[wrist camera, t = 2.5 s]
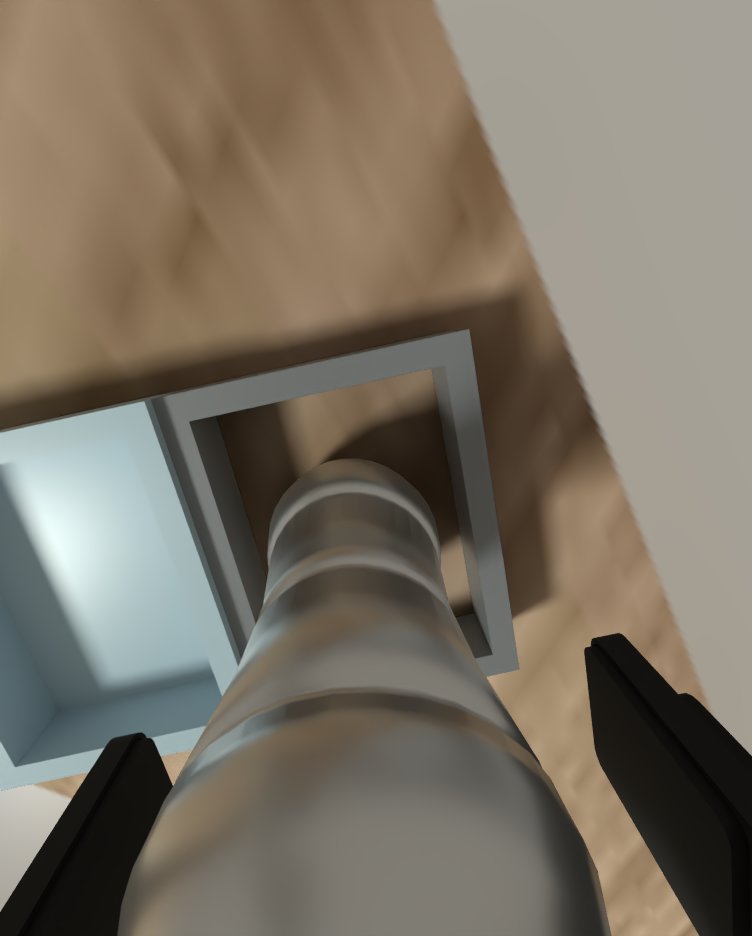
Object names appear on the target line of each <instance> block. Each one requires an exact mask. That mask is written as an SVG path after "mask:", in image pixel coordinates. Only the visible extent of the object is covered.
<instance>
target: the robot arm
mask: <svg viewBox="0 0 752 936" xmlns="http://www.w3.org/2000/svg"><path fill="white" fill-rule="evenodd" d="M584 654H585V663H586V672H587V682H588V691H589V700H590V709H591V718H592V727H593V736H594V745H595V751H596V755H597V757H598V760H599V763H600V765H601V767H602V769H603V771H604V772H605V774H606V776H607V778H608V779H609V781H610V783H611V784H612V786H613V788H614V790H615V791H616V793H617V795H618V796H619V798H620V800H621V802H622V803H623V805H624V807H625V809H626V810H627V812H628V814H629V815H630V817H631V819H632V821H633V822H634V824H635V826H636V827H637V829H638V831H639V833H640V834H641V836H642V838H643V840H644V841H645V843H646V845H647V846H648V848H649V850H650V852H651V853H652V855H653V857H654V858H655V860H656V862H657V864H658V865H659V867H660V869H661V870H662V872H663V874H664V876H665V877H666V879H667V881H668V883H669V884H670V886H671V888H672V889H673V891H674V893H675V895H676V896H677V898H678V900H679V901H680V903H681V905H682V907H683V908H684V910H685V912H686V914H687V915H688V917H689V919H690V920H691V922H692V924H693V926H694V927H695V929H696V931H697V932H698V934H699V936H752V756H751V755H750V754H749V753H748V752H747V751H746V750H745V749H744V748H743V747H742V746H741V745H740V743H738V741H737V740H736V739H735V738H734V737H733V736H732V735H731V734H730V733H729V732H728V731H727V730H726V729H725V728H724V727H723V726H722V725H721V724H720V723H719V722H718V721H717V720H716V719H715V718H714V717H713V716H712V714H711V713H710V712H709V711H708V710H707V709H706V708H705V707H704V706H703V705H702V704H701V703H700V702H699V701H698V700H697V699H695V698H694V697H693V696H691V695H689V694H687V693H683V694H677V693H676V691H675V690H674V689H673V688H672V687H671V686H670V685H669V684H668V683H667V682H666V681H665V680H664V678H663V677H662V676H661V675H660V674H659V673H658V672H657V671H656V670H655V669H654V668H653V667H652V665H651V664H650V663H649V662H648V661H647V660H646V659H645V658H644V657H643V656H642V655H641V654H640V653H639V651H638V650H637V649H636V648H635V647H634V646H633V645H632V644H631V643H630V642H629V641H628V640H627V638H626V637H625V636H623V635H622V634H620V633H616V634H612V635H607V636H602V637H597V638H593V639H592V641H591V647H586V648H585V650H584ZM172 787H173V785H172V783H171V781H170V778H169V776H168V773H167V771H166V768H165V766H164V764H163V761H162V759H161V756H160V754H159V752H158V749H157V747H156V744H155V742H154V741H153V739H151V738H147V737H146V735H145V734H144V733H142V732H138V733H133V734H129V735H124V736H119V737H114V738H113V739H111V740H110V741H109V742H108V743H107V745H106V746H105V748H104V750H103V751H102V753H101V754H100V756H99V757H98V759H97V761H96V762H95V764H94V765H93V767H92V768H91V770H90V772H89V773H88V775H87V776H86V778H85V779H84V781H83V783H82V784H81V786H80V787H79V789H78V790H77V792H76V794H75V795H74V797H73V798H72V800H71V801H70V803H69V805H68V806H67V808H66V809H65V811H64V812H63V814H62V816H61V817H60V819H59V820H58V822H57V824H56V825H55V827H54V828H53V830H52V832H51V833H50V835H49V836H48V838H47V839H46V841H45V843H44V844H43V846H42V847H41V849H40V850H39V852H38V853H37V855H36V857H35V858H34V860H33V861H32V863H31V864H30V866H29V868H28V869H27V871H26V872H25V874H24V875H23V877H22V879H21V880H20V882H19V883H18V885H17V886H16V888H15V890H14V891H13V893H12V895H11V896H10V898H9V899H8V901H7V902H6V904H5V905H4V907H3V909H2V910H1V912H0V936H117V933H118V926H119V919H120V912H121V905H122V901H123V898H124V894H125V891H126V888H127V885H128V881H129V878H130V875H131V872H132V868H133V866H134V864H135V862H136V860H137V858H138V856H139V854H140V852H141V850H142V848H143V846H144V843H145V841H146V839H147V837H148V835H149V833H150V831H151V828H152V826H153V824H154V822H155V820H156V817H157V815H158V813H159V811H160V809H161V806H162V804H163V802H164V800H165V799H166V797H167V795H168V794H169V792H170V791H171V789H172Z"/></svg>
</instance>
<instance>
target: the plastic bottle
mask: <svg viewBox="0 0 752 936" xmlns="http://www.w3.org/2000/svg"><path fill="white" fill-rule="evenodd" d="M267 558H268V567H269V571H268V577H267V583H266V589H265V595H264V601H263V607H262V609H261V611H260V614H259V617H258V620H257V623H256V625H255V627H254V629H253V631H252V634H251V636H250V639H249V641H248V644H247V646H246V649H245V651H244V654H243V656H242V659H241V661H240V664H239V666H238V669H237V671H236V673H235V675H234V677H233V678H232V680H231V682H230V684H229V686H228V687H227V689H226V691H225V693H224V695H223V696H222V698H221V700H220V702H219V704H218V705H217V707H216V709H215V711H214V713H213V714H212V716H211V718H210V720H209V722H208V723H207V725H206V727H205V729H204V731H203V732H202V734H201V736H200V738H199V740H198V741H197V743H196V745H195V747H194V749H193V751H192V752H191V754H190V756H189V758H188V760H187V761H186V763H185V765H184V767H183V769H182V770H181V772H180V774H179V776H178V778H177V779H176V782H175V784H174V786H173V787H172V789H171V791H170V792H169V794H168V795H167V797H166V799H165V800H164V802H163V804H162V806H161V809H160V811H159V813H158V815H157V817H156V820H155V822H154V824H153V826H152V828H151V831H150V833H149V835H148V837H147V839H146V841H145V843H144V846H143V848H142V850H141V852H140V854H139V856H138V858H137V860H136V862H135V864H134V866H133V868H132V872H131V875H130V878H129V881H128V885H127V888H126V891H125V894H124V898H123V901H122V905H121V912H120V919H119V926H118V933H117V936H611V931H610V927H609V922H608V917H607V913H606V908H605V903H604V898H603V894H602V889H601V884H600V880H599V875H598V871H597V869H596V866H595V864H594V862H593V860H592V858H591V855H590V853H589V851H588V849H587V847H586V844H585V842H584V840H583V838H582V836H581V834H580V833H579V831H578V829H577V827H576V825H575V824H574V822H573V820H572V818H571V816H570V815H569V813H568V811H567V809H566V807H565V805H564V803H563V801H562V799H561V798H560V796H559V794H558V792H557V790H556V788H555V786H554V784H553V782H552V780H551V779H550V778H549V776H548V775H547V774H546V773H545V771H544V770H543V769H542V767H541V765H540V762H539V760H538V759H537V757H536V756H535V754H534V752H533V751H532V749H531V748H530V746H529V744H528V743H527V741H526V740H525V738H524V737H523V735H522V733H521V732H520V730H519V729H518V727H517V725H516V724H515V722H514V721H513V719H512V717H511V716H510V714H509V713H508V711H507V710H506V708H505V706H504V705H503V703H502V702H501V700H500V698H499V697H498V695H497V694H496V692H495V690H494V689H493V687H492V686H491V684H490V683H489V681H488V679H487V678H486V676H485V675H484V673H483V671H482V670H481V668H480V667H479V665H478V663H477V662H476V660H475V658H474V656H473V654H472V652H471V649H470V647H469V645H468V643H467V641H466V639H465V637H464V635H463V633H462V630H461V628H460V626H459V624H458V622H457V620H456V618H455V616H454V613H453V611H452V609H451V607H450V605H449V602H448V598H447V594H446V590H445V585H444V581H443V577H442V573H441V549H440V542H439V536H438V531H437V527H436V522H435V518H434V516H433V514H432V512H431V510H430V507H429V505H428V504H427V502H426V501H425V499H424V498H423V497H422V495H421V494H420V493H419V491H418V490H417V489H416V488H414V487H413V486H412V485H411V484H410V483H409V482H408V481H407V480H406V479H404V478H403V477H402V476H401V475H399V474H398V473H396V472H395V471H393V470H391V469H390V468H388V467H387V466H384V465H381V464H379V463H376V462H373V461H369V460H363V459H358V458H353V459H338V460H334V461H329V462H326V463H324V464H321V465H319V466H317V467H314V468H313V469H311V470H310V471H308V472H307V473H306V474H304V475H303V476H301V477H300V478H299V479H298V480H297V481H295V482H294V483H293V484H292V485H291V487H290V488H289V489H288V490H287V491H286V492H285V493H284V494H283V496H282V497H281V499H280V501H279V502H278V504H277V506H276V507H275V510H274V513H273V516H272V519H271V522H270V529H269V540H268V551H267Z"/></svg>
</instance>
